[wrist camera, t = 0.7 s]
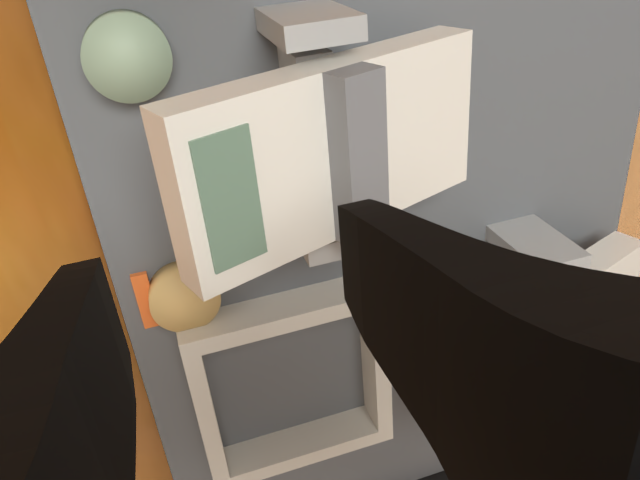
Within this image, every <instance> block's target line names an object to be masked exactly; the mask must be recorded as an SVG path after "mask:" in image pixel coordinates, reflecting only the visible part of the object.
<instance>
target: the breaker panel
mask: <svg viewBox="0 0 640 480" xmlns="http://www.w3.org/2000/svg"><path fill="white" fill-rule="evenodd" d="M26 2H27V5H28V8H29V12H30V15H31V18H32V21H33V25H34V28H35V31H36V34H37V38H38V41H39V44H40V47H41V51H42V54H43V57H44V60H45V64H46V67H47V70H48V73H49V77H50V80H51V83H52V86H53V90H54V93H55V96H56V99H57V103H58V106H59V109H60V112H61V116H62V119H63V122H64V125H65V129H66V132H67V135H68V139H69V142H70V145H71V148H72V152H73V155H74V158H75V161H76V165H77V168H78V171H79V174H80V178H81V181H82V184H83V187H84V191H85V194H86V197H87V200H88V204H89V207H90V210H91V213H92V217H93V220H94V223H95V226H96V230H97V233H98V236H99V239H100V243H101V246H102V249H103V252H104V256H105V259H106V262H107V265H108V269H109V272H110V275H111V278H112V282H113V285H114V288H115V291H116V295H117V298H118V301H119V305H120V308H121V311H122V314H123V318H124V321H125V324H126V327H127V331H128V334H129V337H130V340H131V344H132V347H133V350H134V353H135V357H136V360H137V363H138V366H139V370H140V373H141V376H142V379H143V383H144V386H145V389H146V392H147V396H148V399H149V402H150V405H151V409H152V412H153V415H154V418H155V422H156V425H157V428H158V431H159V435H160V438H161V441H162V444H163V448H164V451H165V454H166V458H167V461H168V464H169V467H170V471H171V474H172V477H173V480H417V479H420V478H423V477H426V476H429V475H432V474H435V473H438V472H441V471H444V469H443V467H442V466H441V464H440V462H439V460H438V458H437V456H436V454H435V452H434V450H433V449H432V447H431V445H430V444H429V442H428V440H427V439H426V437H425V435H424V433H423V432H422V430H421V429H420V427H419V426H418V424H417V423H416V421H415V420H414V418H413V417H412V415H411V414H410V412H409V410H408V409H407V407H406V406H405V404H404V403H403V401H402V400H401V398H400V397H399V395H398V394H397V392H396V391H395V389H394V387H393V386H392V384H391V383H390V381H389V380H388V378H387V377H386V375H385V374H384V372H383V371H382V369H381V367H380V366H379V364H378V363H377V361H376V360H375V358H374V357H373V355H372V353H371V352H370V350H369V349H368V347H367V345H366V344H365V342H364V340H363V338H362V336H361V334H360V332H359V330H358V328H357V326H356V324H355V321H354V319H353V317H352V315H351V312H350V310H349V308H348V306H347V303H346V301H345V299H344V286H343V273H342V259H341V246H340V243H339V242H337V241H334V242H332V243H329V244H327V245H325V246H323V247H321V248H319V249H316V250H314V251H312V252H310V253H308V254H306V255H304V256H301V257H299V258H297V259H295V260H293V261H291V262H288V263H286V264H284V265H282V266H280V267H278V268H276V269H273V270H271V271H269V272H267V273H265V274H263V275H260V276H258V277H256V278H254V279H252V280H250V281H248V282H245V283H243V284H241V285H239V286H237V287H235V288H233V289H230V290H228V291H226V292H224V293H222V294H220V295H217V296H215V297H213V298H211V299H209V300H207V301H205V302H204V301H202V300H201V299H200V298H199V297H198V296H197V295H196V294H195V293H194V292H193V291H192V290H190V289H189V288H188V287H187V286H186V285H185V284H184V283H183V282H182V281H181V279H180V275H179V271H178V267H177V262H176V258H175V254H174V250H173V246H172V241H171V237H170V233H169V229H168V225H167V220H166V216H165V212H164V208H163V204H162V199H161V195H160V191H159V187H158V183H157V179H156V174H155V170H154V166H153V162H152V158H151V153H150V149H149V145H148V141H147V137H146V132H145V128H144V124H143V120H142V116H141V111H140V107H139V106H140V105H144V104H148V103H151V102H155V101H159V100H163V99H166V98H170V97H174V96H178V95H181V94H185V93H189V92H192V91H196V90H200V89H204V88H207V87H211V86H215V85H219V84H222V83H226V82H230V81H233V80H237V79H241V78H245V77H248V76H252V75H256V74H260V73H263V72H267V71H271V70H274V69H278V68H282V67H286V66H289V65H293V64H297V63H300V62H304V61H308V60H312V59H315V58H319V57H323V56H327V55H330V54H334V53H338V52H341V51H345V50H349V49H353V48H356V47H360V46H364V45H368V44H371V43H375V42H379V41H382V40H386V39H390V38H394V37H397V36H401V35H405V34H409V33H412V32H416V31H420V30H423V29H427V28H431V27H435V26H438V25H441V26H448V27H456V28H463V29H470V30H473V35H472V59H471V82H470V106H469V129H468V153H467V177H466V180H465V181H463V182H461V183H458V184H456V185H454V186H452V187H450V188H448V189H446V190H443V191H441V192H439V193H437V194H435V195H433V196H431V197H428V198H426V199H424V200H422V201H420V202H418V203H415V204H413V205H411V206H409V207H407V208H405V209H403V211H406V212H408V213H411V214H413V215H415V216H418V217H420V218H423V219H425V220H428V221H430V222H433V223H435V224H438V225H441V226H443V227H446V228H448V229H451V230H454V231H456V232H459V233H462V234H464V235H467V236H470V237H473V238H475V239H478V240H482V241H485V242H488V243H491V244H494V245H497V246H500V247H503V248H506V249H509V250H513V251H516V252H520V253H523V254H527V255H531V256H535V257H539V258H543V259H547V260H551V261H555V262H560V263H564V264H568V265H573V266H578V267H583V268H588V269H590V264H591V258H592V255H591V254H590V253H588V252H587V251H586V249H587V248H589V247H590V246H592V245H594V244H595V243H597V242H598V241H600V240H601V239H603V238H604V237H606V236H608V235H609V234H611V233H612V232H614V231H617V228H618V223H619V218H620V212H621V207H622V202H623V196H624V191H625V186H626V180H627V175H628V170H629V164H630V159H631V154H632V148H633V143H634V138H635V133H636V127H637V122H638V117H639V111H640V0H26Z"/></svg>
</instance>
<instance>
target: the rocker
mask: <svg viewBox="0 0 640 480" xmlns="http://www.w3.org/2000/svg"><path fill="white" fill-rule="evenodd" d="M472 35H473V30H470V29H463V28H456V27H448V26H441V25H438V26H435V27H431V28H427V29H423V30H420V31H416V32H412V33H409V34H405V35H401V36H397V37H394V38H390V39H386V40H382V41H379V42H375V43H371V44H368V45H364V46H360V47H356V48H353V49H349V50H345V51H341V52H338V53H334V54H330V55H327V56H323V57H319V58H315V59H312V60H308V61H304V62H300V63H297V64H293V65H289V66H286V67H282V68H278V69H274V70H271V71H267V72H263V73H260V74H256V75H252V76H248V77H245V78H241V79H237V80H233V81H230V82H226V83H222V84H219V85H215V86H211V87H207V88H204V89H200V90H196V91H192V92H189V93H185V94H181V95H178V96H174V97H170V98H166V99H163V100H159V101H155V102H151V103H148V104H144V105H140V106H139V107H140V111H141V116H142V120H143V124H144V128H145V132H146V137H147V141H148V145H149V149H150V153H151V158H152V162H153V166H154V170H155V174H156V179H157V183H158V187H159V191H160V195H161V199H162V204H163V208H164V212H165V216H166V220H167V225H168V229H169V233H170V237H171V241H172V246H173V250H174V254H175V258H176V262H177V267H178V271H179V275H180V279H181V281H182V282H183V283H184V284H185V285H186V286H187V287H188V288H189V289H190V290H192V291H193V292H194V293H195V294H196V295H197V296H198V297H199V298H200V299H201V300H202V301H204V302H205V301H207V300H209V299H211V298H213V297H215V296H217V295H220V294H222V293H224V292H226V291H228V290H230V289H233V288H235V287H237V286H239V285H241V284H243V283H245V282H248V281H250V280H252V279H254V278H256V277H258V276H260V275H263V274H265V273H267V272H269V271H271V270H273V269H276V268H278V267H280V266H282V265H284V264H286V263H288V262H291V261H293V260H295V259H297V258H299V257H301V256H304V255H306V254H308V253H310V252H312V251H314V250H316V249H319V248H321V247H323V246H325V245H327V244H329V243H332V242H334V241H337V242H339V243H340V233H339V220H338V207H337V206H338V205H343V204H347V203H352V202H356V201H361V200H366V199H372V200H376V201H379V202H382V203H385V204H388V205H390V206H393V207H396V208H398V209H401V210H403V209H405V208H407V207H409V206H411V205H413V204H415V203H418V202H420V201H422V200H424V199H426V198H428V197H431V196H433V195H435V194H437V193H439V192H441V191H443V190H446V189H448V188H450V187H452V186H454V185H456V184H458V183H461V182H463V181H465V180H466V177H467V153H468V129H469V106H470V82H471V59H472Z"/></svg>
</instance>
